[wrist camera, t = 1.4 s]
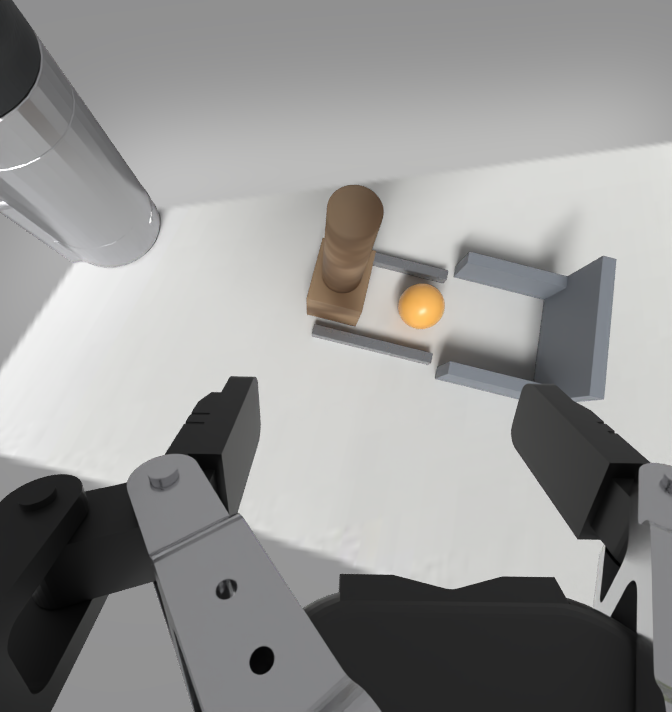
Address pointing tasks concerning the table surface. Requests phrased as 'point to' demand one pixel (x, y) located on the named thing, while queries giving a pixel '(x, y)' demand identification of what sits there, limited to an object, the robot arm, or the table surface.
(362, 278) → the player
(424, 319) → the ball
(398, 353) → the track
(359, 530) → the table surface
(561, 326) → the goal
